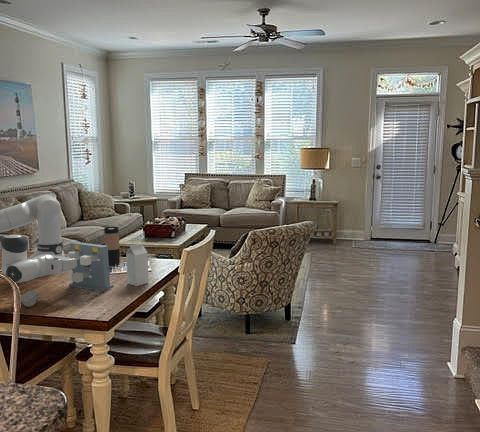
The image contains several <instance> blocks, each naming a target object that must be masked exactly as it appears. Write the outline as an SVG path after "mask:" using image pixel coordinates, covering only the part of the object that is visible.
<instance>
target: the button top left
mask: <svg viewBox="0 0 480 432" xmlns="http://www.w3.org/2000/svg"><path fill="white" fill-rule="evenodd" d="M67 253H68V254H67V256H72V258H75V259H77V260H79V257H81V251H71V250H70V251H68V252H67Z"/></svg>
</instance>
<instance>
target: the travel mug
mask: <svg viewBox="0 0 480 432" xmlns="http://www.w3.org/2000/svg"><path fill="white" fill-rule="evenodd" d="M103 231H104V234H103V235H104V245H105V246H108V260H109V266H115V265H114V264H118V265H119V263H120V261H121V259H120V258H121V257H120V256H121V255H120V253H121V252H120V251H121V249H120V235H119V227H117V226H106V227H104V229H103Z"/></svg>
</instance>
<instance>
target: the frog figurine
mask: <svg viewBox="0 0 480 432" xmlns="http://www.w3.org/2000/svg"><path fill="white" fill-rule="evenodd" d="M38 298H39V293H37V292H36V289H32V290H30V289H29V290H28V291H26V292H25V293H23V294H22V295H21V299H20V300H21V302H22V303H23V305H24V306H25V307H26V308H31V307H34V305H36V303H37V299H38Z"/></svg>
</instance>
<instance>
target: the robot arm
mask: <svg viewBox="0 0 480 432" xmlns="http://www.w3.org/2000/svg"><path fill="white" fill-rule="evenodd" d="M35 221H37V233H38V234H37V235H38V243H37V244H35V248H36V251H35V252H33V253H32V254H31V255H30V256H29V257H28V244H29V241H28V239H27V238H26V237H25V236H24V235H21V234H7V233H6V234H5V233H4V232H8V231H12V230H15V229H19V228H21V227H23V226H26V225H30V224H31V223H34V222H35ZM61 221H62V207H61V203H60V201H59V200H58V199H57V198H55V197H54V196H53V195H50V194H42V195H38V196H37V197H34V198H31V199H29V200H26V201H24V202H21V203H18V204H16V205H12V206H9V207H6V208H2V209H0V250H1V272H2V275H3V276H5V275H6V276H8V277H10V278H11V279H12V280H13V281H14V282H15V283H16V284H18V283H24V282H28V281H32V280H35V279H36V278H41V277H46V276H49V275H61V274H63V272H68V271H70V270H71V271H72V269H73V268H75V267H77V259H75V258H72V256H69V255H68V254H67V255H65V252H64V250H63V249H64V244H63V241H62V228H61V225H62V224H61V223H62V222H61ZM6 276H5V277H6ZM14 282H13V283H14Z"/></svg>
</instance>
